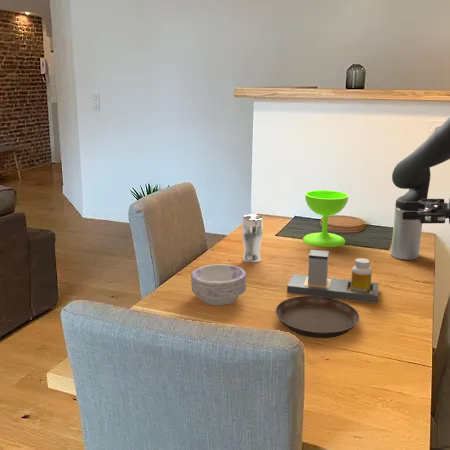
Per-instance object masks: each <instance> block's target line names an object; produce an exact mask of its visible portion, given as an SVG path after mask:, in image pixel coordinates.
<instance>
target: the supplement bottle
mask: <svg viewBox="0 0 450 450" xmlns="http://www.w3.org/2000/svg"><path fill="white" fill-rule="evenodd" d="M370 264H371V261H370V259H367V258H362V257H361V258H355V262H354V266H353V267H352V269H351V279H350V280H351V291H356V292H365V293H370V285H371V282H372V274H373V273H372V271H373V270H372V269H371V267H370Z"/></svg>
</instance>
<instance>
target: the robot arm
mask: <svg viewBox="0 0 450 450" xmlns="http://www.w3.org/2000/svg"><path fill="white" fill-rule="evenodd" d="M448 160H450V116H449V117H448V118H447V119H446V120H445V121H444V123H442V124H441V125H440V126H439V127H438V128H437V129H435V131H433V132H432V133H431V135H429V136H428V138H426V140H425V141H424V142H422V143H421V144H420V145H419V146H418V147H417V148H416V149H415V150H413V152H411V153H410V154H409V155H407V156H406V157H404V158H403V159H402V160H401V161H399V162H398V163H397V164H396V165H395V167H394V168H393V170H392V174H391V180H392V183H393V184H394V186H395V187H396V188H399V189H403V190H408V191H407V192H406V193H405V194H404V195H402V196H399V197H398V198H396V201H395V207H394V218H393V226H392V227H393V228H392V229H393V230H392V238H391V239H392V240H391V251H390V256H392V257H394V258H396V259H399V260H404V261H405V260H408V261H413V260H417V259H419V255H420V247H421V238H422V231H423V230H422V229H423V225H424V224H445V223H446V220H447V219H448V223H449V225H450V197H449V199H448V201H449V202H448V203H447V202H445V199H444V198H428V195H429V189H430V182H431V168H433V167H435V166H438V165H440V164H442V163H445V162H446V161H448Z"/></svg>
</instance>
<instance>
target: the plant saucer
mask: <svg viewBox="0 0 450 450" xmlns="http://www.w3.org/2000/svg"><path fill="white" fill-rule="evenodd" d="M275 314H276V316H277V319H278V320H279V321H280V323H282V325H283V326H285V328H287V329H288V330H289V331H290V332H292V333H295V334H297V335H300V336H301V337H305V338H306V337H307V338H311V339H332V338H334V339H335V338H337V337H340V336H343V335H346V334H347V333H349V332H350V331H352V330H353V329H354V328H355V327H356V326H357V324H358V322H359V321H360V314H359V312H358V311H357V310H356V308H354V307H353V306H352V305H350V304H349V303H346V302H344V301H342V300H341V299H335V298H328V297H322V296H310V295H301V296H293V297H290V298H287V299H285V300H283V301H281V302H280V303H278V305H277V306H276V308H275Z"/></svg>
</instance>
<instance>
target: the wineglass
mask: <svg viewBox="0 0 450 450" xmlns="http://www.w3.org/2000/svg"><path fill="white" fill-rule="evenodd" d="M304 195H305V202H306V205H307V206H308V207H309V209H310V210H311V211H313V212H314V213H315V214H317V215H319V216H321V217H322V222H321V223H322V224H321V225H322V227H321V232H313V233H308V234H306V235H305V236H303V238H302V241H303V242H304V243H305V244H307V245H311V246H313V247H314V246H315V247H320V248H335V247H341V246H343V245H345V244H346V240H345V238H344V237H342V236H340V235H338V234H335V233H330V232H328V222H329V220H328V219H329V217H330V216H335V215H336V214H339V212H341V211H342V210H343V209H344V208H345V207H346V205H347V203H348V200H349V194H348V193H346V192H344V191H343V192H342V191H337V190H327V189H326V190H325V189H322V190H318V189H317V190H316V189H315V190H310V191H307V192H305V193H304Z"/></svg>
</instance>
